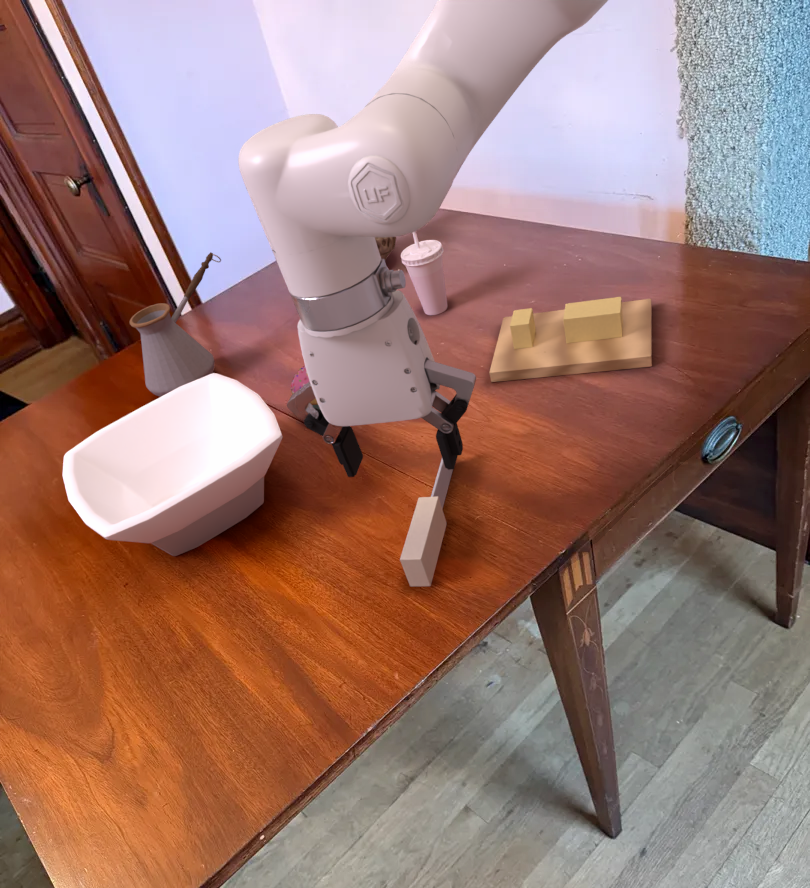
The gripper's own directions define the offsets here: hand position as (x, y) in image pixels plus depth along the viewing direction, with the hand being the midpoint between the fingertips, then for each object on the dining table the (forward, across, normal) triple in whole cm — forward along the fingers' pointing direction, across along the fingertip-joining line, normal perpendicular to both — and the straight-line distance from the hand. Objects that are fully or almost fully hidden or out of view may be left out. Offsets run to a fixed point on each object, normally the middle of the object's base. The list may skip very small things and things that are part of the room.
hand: (403, 463), depth 70 cm
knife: (+12, +1, -5) cm, 13 cm away
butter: (+11, -14, -38) cm, 42 cm away
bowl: (+12, +33, -9) cm, 36 cm away
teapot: (+12, +27, -72) cm, 78 cm away
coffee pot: (+11, +48, -43) cm, 65 cm away
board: (+12, -11, -38) cm, 42 cm away
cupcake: (+12, +21, -28) cm, 37 cm away
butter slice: (+11, -5, -38) cm, 40 cm away
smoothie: (+12, +11, -53) cm, 55 cm away
